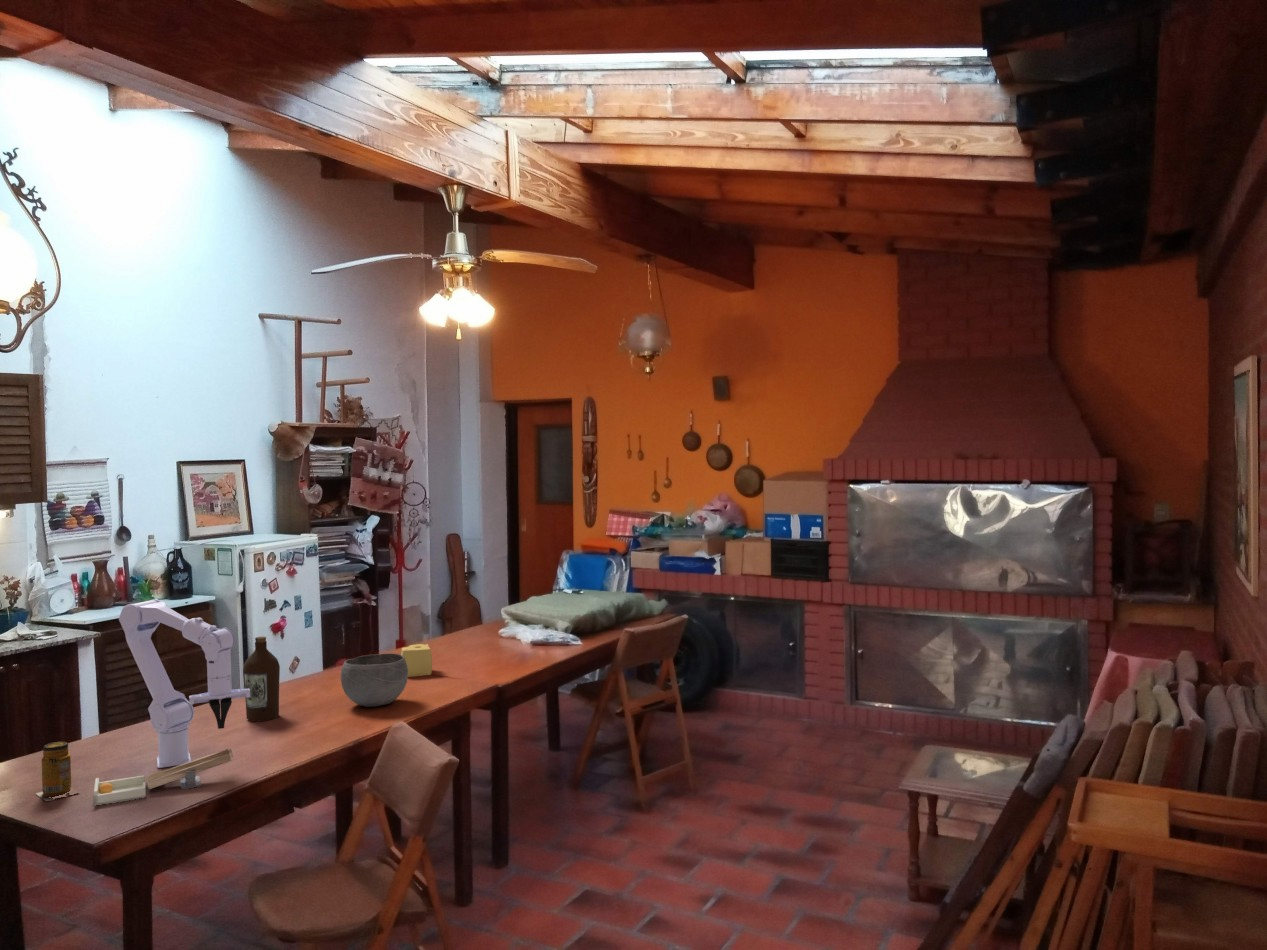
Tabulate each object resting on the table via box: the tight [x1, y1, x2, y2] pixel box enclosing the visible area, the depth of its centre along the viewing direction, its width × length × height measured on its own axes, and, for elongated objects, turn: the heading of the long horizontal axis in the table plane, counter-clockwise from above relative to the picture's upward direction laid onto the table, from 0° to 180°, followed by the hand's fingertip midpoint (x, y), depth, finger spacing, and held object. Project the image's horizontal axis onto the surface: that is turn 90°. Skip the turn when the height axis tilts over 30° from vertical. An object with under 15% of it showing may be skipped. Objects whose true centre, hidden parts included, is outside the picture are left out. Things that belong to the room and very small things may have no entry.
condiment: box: [35, 741, 72, 802], centre depth 233 cm, size 7×8×12 cm
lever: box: [146, 747, 235, 790], centre depth 242 cm, size 11×20×2 cm, turn 118°
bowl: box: [340, 652, 409, 708], centre depth 311 cm, size 21×21×15 cm
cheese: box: [400, 643, 433, 678], centre depth 354 cm, size 10×11×10 cm
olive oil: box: [242, 636, 281, 722], centre depth 298 cm, size 11×11×25 cm
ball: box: [99, 783, 113, 794], centre depth 230 cm, size 3×3×3 cm
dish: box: [93, 775, 147, 807], centre depth 232 cm, size 10×11×4 cm
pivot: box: [179, 770, 202, 790], centre depth 239 cm, size 7×4×4 cm, turn 27°
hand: (220, 727), depth 251 cm, fingers closed
